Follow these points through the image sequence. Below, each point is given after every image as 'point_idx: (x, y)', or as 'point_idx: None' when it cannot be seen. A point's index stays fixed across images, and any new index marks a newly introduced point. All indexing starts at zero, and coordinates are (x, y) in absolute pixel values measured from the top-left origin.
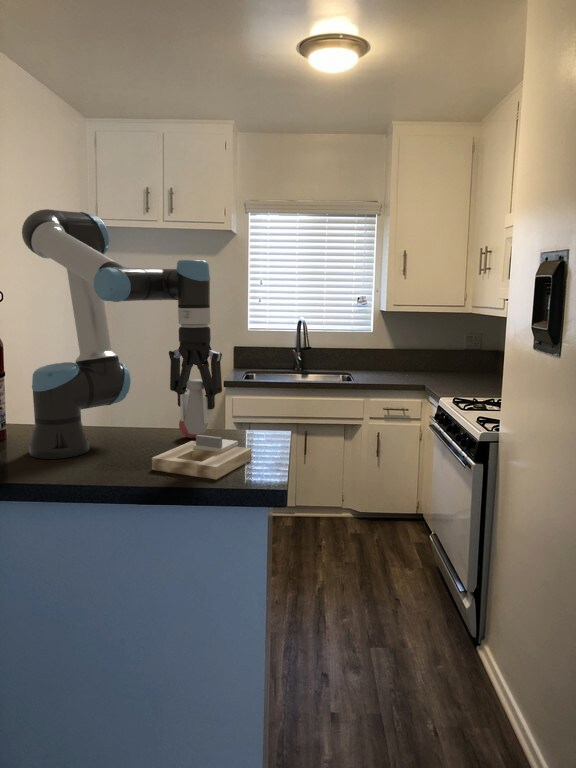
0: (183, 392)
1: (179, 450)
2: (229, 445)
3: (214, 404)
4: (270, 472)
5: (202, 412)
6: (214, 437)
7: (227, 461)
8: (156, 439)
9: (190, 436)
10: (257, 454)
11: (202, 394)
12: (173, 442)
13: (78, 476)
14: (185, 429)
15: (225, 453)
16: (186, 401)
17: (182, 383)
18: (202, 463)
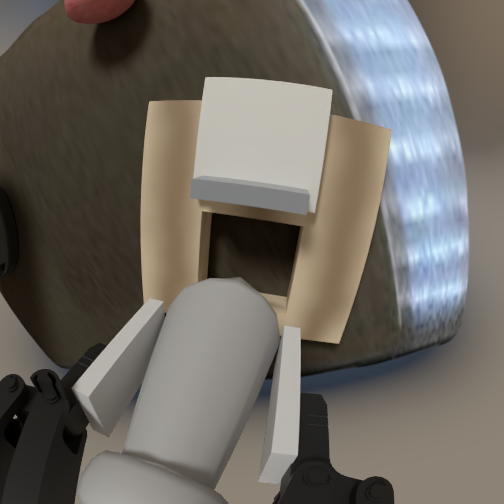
0: (79, 415)
1: (166, 223)
2: (323, 155)
3: (326, 418)
4: (446, 240)
5: (257, 395)
6: (277, 203)
7: (356, 290)
8: (56, 66)
9: (116, 17)
10: (374, 74)
11: (222, 460)
12: (92, 60)
13: (86, 342)
14: (94, 21)
15: (327, 213)
16: (120, 381)
17: (75, 484)
18: (293, 326)
